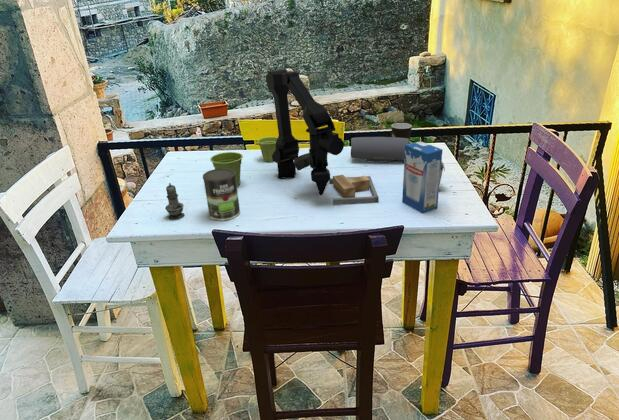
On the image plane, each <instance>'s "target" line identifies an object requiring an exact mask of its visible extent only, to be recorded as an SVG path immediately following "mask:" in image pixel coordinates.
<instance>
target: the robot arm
mask: <svg viewBox="0 0 619 420" xmlns="http://www.w3.org/2000/svg"><path fill="white" fill-rule="evenodd" d="M265 82H266V85H267V89H268V91H269V92H270V94H271V95H272V96H273V100H274V101H273V102H274V109H275V116H276V117H275V118H276V123H277V124H276V125H277V132H278V133H277V134H278V137H277V138H278V139H277V141H276V150H275V152H274V153H273V155H272V159H273V161H274V163H276V165H277V179H290V178H295V177H296V174H297V171H302V169H306V168H308V167H309V168H310V169H312V170H311V171H310V179H311V181H312V182H313V183H315V184H316V188H317V192H318V195H319V196H323V195H324V192H325V189H326V188H327V186H328V183H329V180H330V178H331V172H330V170H329V169H328V168H327V167H328V166H329V163H328V155H330V154H331V155H333V156H338V155H340V154H341V153H342V152H343V150H344V147H345V143H344V140H343V139H342V138H341V137H340V135H339V133H337V132H335V131H336V128H335V123H334V122H333V121H334V120H332V118H331V115H330V113H329V111H328V110H327V109H326V108H325V107H324V105H323V104H321V103H319V102H317V101H315V99H314V98H313V96H312V95H311V92H309V90H308V89H307V87H306V85H305V84H304V83H303V81H302V80H301V78H300V74H299V72H298V71H295V70H293V71H288V70H287V69H285V68H282V69H277V70H270V71H268V72H267V74H266V76H265ZM289 92H290V93H291V94H292V96H293V97H294V100H296V102H297V104H298V105H299V106H300V109H301V110H302V119H303V120H304V123H305V125H306V126H307V129H306V130H305V132H306V133H308V134H309V136H308V137H309V149H308V152H307V153H303V154H301V155H299V152H300V147H299V146H300V145H299V140H298V139H297V138H295V137H294V136H293V133H292V132H293V131H292V123H291V116H290V107H289V106H290V105H289V100H288V98H289V97H288V95H289Z"/></svg>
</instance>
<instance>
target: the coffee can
mask: <svg viewBox="0 0 619 420" xmlns="http://www.w3.org/2000/svg"><path fill="white" fill-rule="evenodd" d="M202 179H203V185H204V190H205V196H206V197H205V198H206V205H207V208H208V215H209V218H210V219H211V220H214V221H218V222H219V221H220V222H221V221H222V222H223V221H231V220H233V219H234V218H237V217H238V216H239V215H240V214H241V210H240V209H241V208H240V201H239V194H238V187H237V183H236V173H235V171H234V170H232V169H226V168H221V169H215V168H214V169H210V170H208V171H206V172H204V173H203V174H202Z"/></svg>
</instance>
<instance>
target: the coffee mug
mask: <svg viewBox="0 0 619 420" xmlns="http://www.w3.org/2000/svg"><path fill="white" fill-rule="evenodd" d="M390 126H391V137H397V138H408V139H409V141H410V140H411V134H412V128H413V125H412V124H410V123H407V122H397V123H391V125H390Z"/></svg>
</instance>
